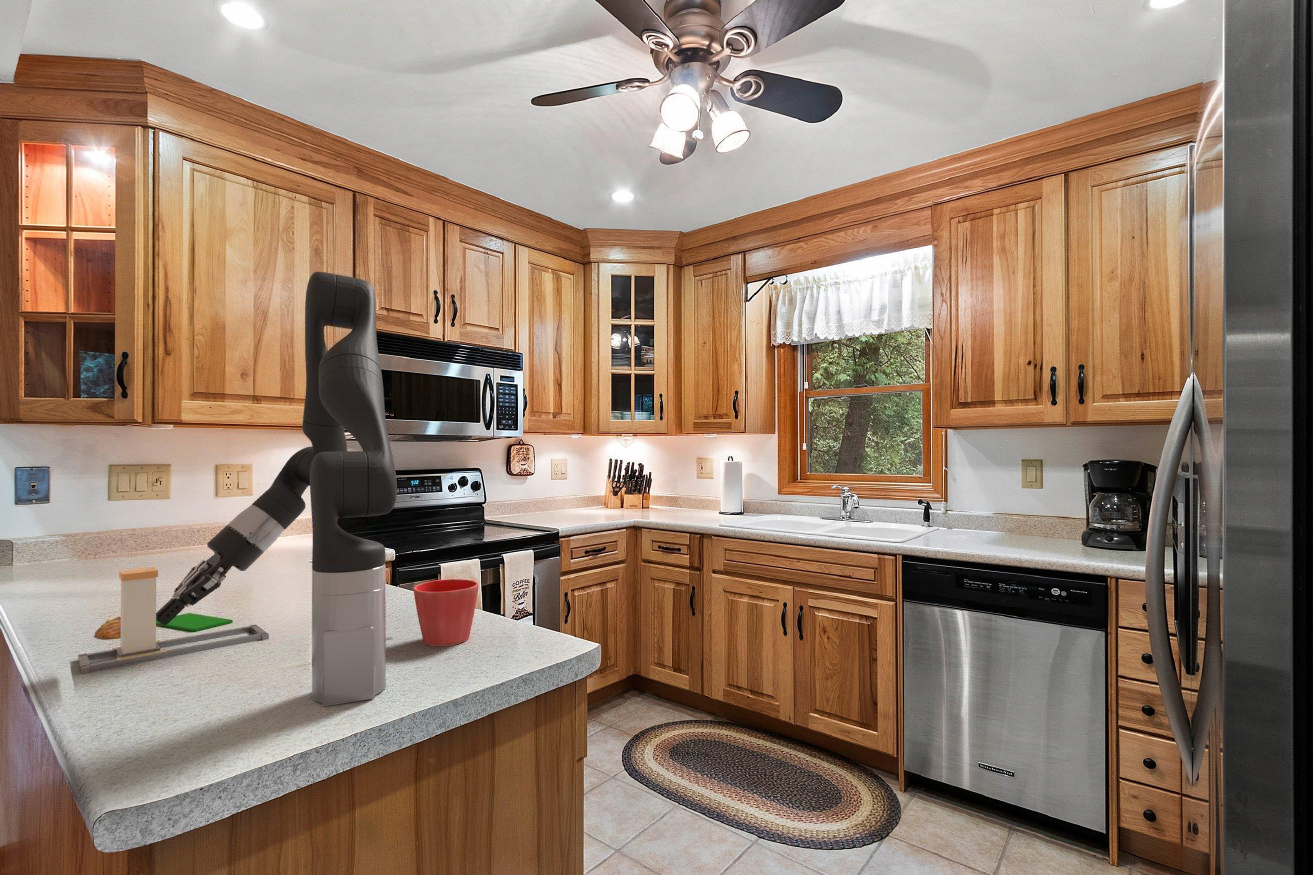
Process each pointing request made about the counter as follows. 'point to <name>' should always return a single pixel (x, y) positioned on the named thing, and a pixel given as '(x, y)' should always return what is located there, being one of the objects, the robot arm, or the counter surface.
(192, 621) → the dish sponge
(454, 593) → the flower pot
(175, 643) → the track
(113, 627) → the pastry
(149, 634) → the fader
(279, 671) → the counter surface
